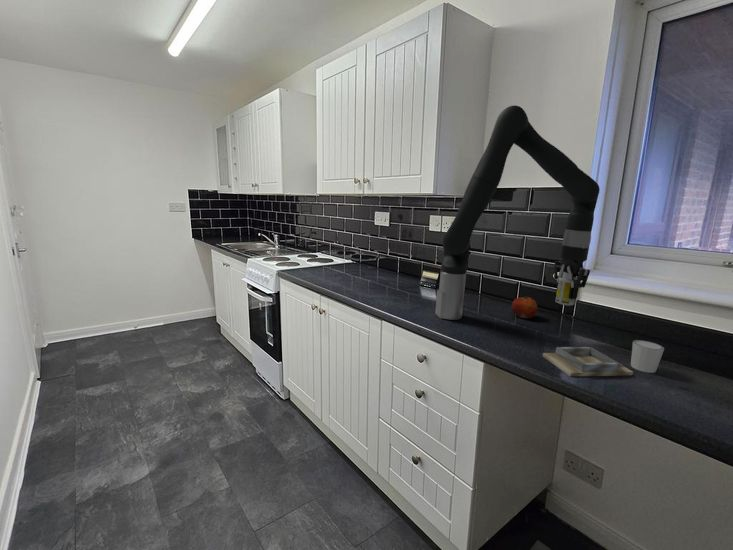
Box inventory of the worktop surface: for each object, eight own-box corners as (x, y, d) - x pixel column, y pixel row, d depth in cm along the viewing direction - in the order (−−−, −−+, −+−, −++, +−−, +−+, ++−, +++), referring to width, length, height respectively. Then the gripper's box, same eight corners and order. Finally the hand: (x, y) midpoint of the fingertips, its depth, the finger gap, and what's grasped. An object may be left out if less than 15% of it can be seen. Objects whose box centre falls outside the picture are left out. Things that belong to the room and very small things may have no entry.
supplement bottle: (577, 305, 116) (584, 274, 114) (566, 306, 114) (572, 275, 111) (562, 300, 121) (567, 270, 119) (551, 301, 118) (556, 271, 116)
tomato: (538, 321, 135) (541, 301, 133) (512, 319, 136) (515, 299, 135) (532, 314, 144) (535, 295, 142) (508, 311, 145) (511, 292, 144)
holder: (569, 376, 93) (571, 365, 92) (542, 356, 104) (544, 346, 104) (632, 375, 95) (634, 364, 94) (598, 355, 107) (600, 346, 106)
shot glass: (622, 362, 103) (626, 339, 101) (644, 362, 103) (649, 339, 102) (641, 374, 96) (647, 349, 94) (665, 374, 97) (671, 349, 95)
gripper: (550, 241, 119) (542, 290, 123) (580, 247, 105) (569, 302, 109) (571, 242, 120) (562, 290, 124) (603, 248, 106) (592, 303, 110)
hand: (565, 295), depth 117 cm, fingers closed on supplement bottle, 5 cm apart
